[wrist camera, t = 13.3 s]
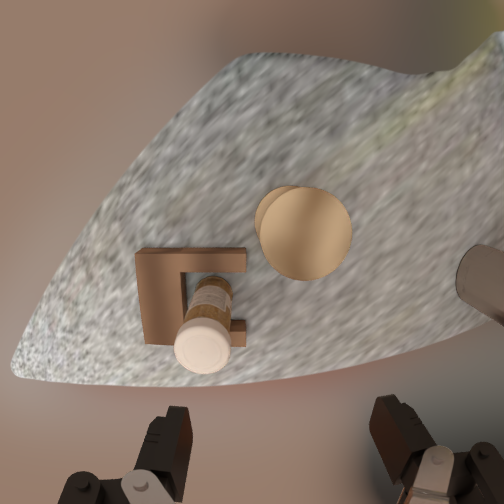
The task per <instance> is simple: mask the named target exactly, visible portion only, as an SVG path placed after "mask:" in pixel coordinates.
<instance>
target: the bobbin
mask: <svg viewBox="0 0 504 504" xmlns="http://www.w3.org/2000/svg"><path fill="white" fill-rule="evenodd" d="M255 229H256V233H257V236H258V238H259V240H260V242H261V247H262V250H263V253H264V255H265V257H266V259H267V260H268V262H269V263H270V265H271V266H272V267H273V268H274V269H275V270H276V271H278V272H279V273H281V274H282V275H284V276H286V277H288V278H291V279H294V280H300V281H309V280H315V279H319V278H321V277H324V276H326V275H328V274H329V273H331V272H332V271H334V270H335V269H336V268H337V267H338V266H339V265H340V264H341V263H342V261H343V260H344V259H345V257H346V255H347V253H348V251H349V248H350V245H351V240H352V225H351V221H350V217H349V215H348V212H347V211H346V209H345V207H344V206H343V204H342V203H341V202H340V201H339V200H338V199H337V198H336V197H334V196H333V195H332V194H330V193H328V192H326V191H324V190H321V189H317V188H310V187H298V186H283V187H280V188H277V189H275V190H273V191H271V192H269V193H268V194H267V195H266V196H265V197H264V198H263V199H262V201H261V202H260V204H259V205H258V207H257V210H256V214H255Z"/></svg>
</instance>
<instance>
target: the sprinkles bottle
mask: <svg viewBox="0 0 504 504" xmlns="http://www.w3.org/2000/svg"><path fill="white" fill-rule="evenodd" d="M232 296H233V293H232V289H231V287H230V285H229V284H228V283H227V282H226V281H225V280H224V279H222V278H219V277H215V276H210V277H206V278H204V279H202V280H201V281H200V282H199V283H198V284H197V286H196V289H195V294H194V295H193V297H192V300H191V303H190V305H189V308H188V310H187V313H186V315H185V319H184V323H183V325H182V326H181V327H180V329H179V331H178V333H177V336H176V339H175V343H174V352H175V356H176V358H177V360H178V361H179V363H180V364H181V365H182V366H183V367H185V368H186V369H188V370H190V371H192V372H194V373H198V374H210V373H214V372H217V371H219V370H220V369H222V368H223V367H224V366H225V365H226V364H227V362H228V360H229V358H230V353H231V338H230V335H229V333H230V323H231V310H232V303H231V301H232Z"/></svg>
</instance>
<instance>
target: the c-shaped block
mask: <svg viewBox="0 0 504 504" xmlns="http://www.w3.org/2000/svg"><path fill="white" fill-rule="evenodd" d="M135 265H136V276H137V286H138V295H139V303H140V311H141V318H142V326H143V332H144V339H145V344H156V345H174V343H175V339H176V336H177V333H178V331H179V329H180V327H181V326H182V325H183V323H184V319H185V315H186V313H187V296H186V279H185V272H246V248H142V249H141V250H139V251H138V252H136V253H135ZM229 335H230V338H231V347H246V323H245V320H231V323H230V333H229Z"/></svg>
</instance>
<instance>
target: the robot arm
mask: <svg viewBox="0 0 504 504" xmlns="http://www.w3.org/2000/svg"><path fill="white" fill-rule="evenodd" d="M456 288H457V292H458V295H459V297H460V298H461V299H462V300H463V301H465V302H466V303H468V304H469V305H471V306H473V307H474V308H476V309H477V310H479V311H480V312H482V313H483V314H485V315H487V316H488V317H490V318H491V319H493V320H494V321H496V322H497V323H499V324H500V325H502V326H503V327H504V252H502V251H500V250H497V249H494V248H491V247H488V246H485V245H477V246H474V247H473V248H471V249H470V250H469V251H468V252H467V253H466V255H465V256H464V258H463V259H462V261H461V263H460V266H459V269H458V273H457V278H456ZM369 429H370V433H371V436H372V438H373V440H374V442H375V445H376V447H377V449H378V451H379V454H380V455H381V458H382V460H383V463H384V465H385V467H386V469H387V472H388V474H389V476H390V479H391V481H392V483H393V485H398V484H401V483H403V485H404V489H403V491H402V493H401V495H400V497H399V500H398V502H397V504H448V503H450V504H504V460H503V458H502V457H501V455H500V454H499V452H498V451H497V449H496V448H495V447H494V446H493V445H492V444H490V443H488V442H479V443H476V444H475V445H474V446H473V447H472V449H471V450H470V451H469V452H460V453H452V452H451V451H450V450H449V449H448V448H446V447H443V446H437V445H436V443H435V441H434V440H433V438H432V437H431V435H430V434H429V432H428V431H427V429H426V427H425V426H424V424H422V421H421V420H420V418H418V415H417V414H416V412H415V411H414V409H413V408H411V407H410V406H409V405H407V404H406V403H402V404H401V403H400V402H399V400H398V399H397V397H396V396H395V395H394V394H391V395H386V396H381V397H377V399H376V401H375V405H374V408H373V412H372V415H371V418H370V422H369ZM192 443H193V432H192V427H191V421H190V416H189V411H188V408H187V407H179V406H169V408H168V411H167V415H166V417H159V416H158V417H156V418H155V419H154V420H153V421H152V422H151V423H150V425H149V428H148V431H147V435H146V436H145V439H144V442H143V445H142V447H141V450H140V453H139V456H138V459H137V462H136V465H135V467H134V469H133V471H130V472H128V473H127V474H126V475H125V476H124V477H123V478H120V479H111V480H99V479H98V478H97V477H96V476H95V475H94V474H92V473H90V472H85V471H82V472H76V473H74V474H72V475H71V476H70V477H69V478H68V479H67V482H66V484H65V486H64V489H63V492H62V494H61V496H60V499H59V501H58V504H175V503H174V502H182V499H183V494H184V488H185V482H186V477H187V471H188V465H189V460H190V454H191V448H192ZM477 485H478V486H477ZM478 487H479V488H478ZM479 489H480V490H481V492H482V494H483V496H484V497H483V496H482V494H481V492H480V490H479Z"/></svg>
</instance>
